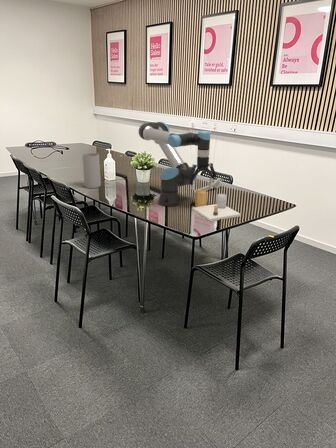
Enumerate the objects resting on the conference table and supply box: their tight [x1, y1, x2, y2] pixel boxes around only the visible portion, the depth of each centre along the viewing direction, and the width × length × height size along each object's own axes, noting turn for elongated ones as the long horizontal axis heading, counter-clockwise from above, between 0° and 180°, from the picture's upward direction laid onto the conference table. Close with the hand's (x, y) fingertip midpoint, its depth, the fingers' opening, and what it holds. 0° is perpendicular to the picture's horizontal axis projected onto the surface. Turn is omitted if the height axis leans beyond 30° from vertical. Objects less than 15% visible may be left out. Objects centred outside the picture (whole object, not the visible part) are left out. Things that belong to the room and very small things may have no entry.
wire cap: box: [194, 189, 208, 207], centre depth 224 cm, size 7×7×10 cm
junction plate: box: [191, 193, 242, 222], centre depth 211 cm, size 22×22×10 cm
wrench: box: [193, 177, 224, 195], centre depth 257 cm, size 8×2×30 cm
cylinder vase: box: [81, 152, 102, 189], centre depth 261 cm, size 12×12×25 cm
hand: (201, 188), depth 221 cm, fingers open, 13 cm apart
